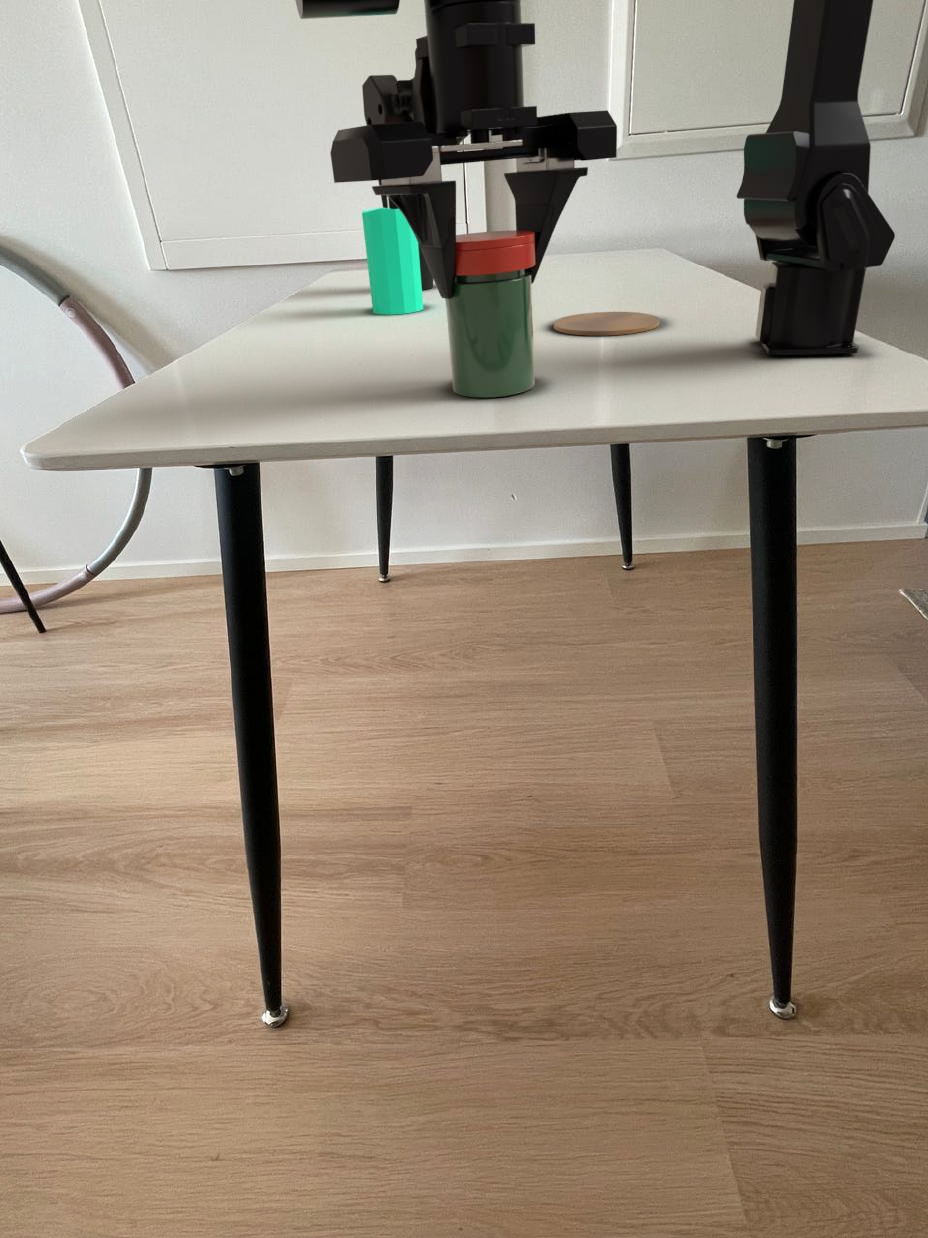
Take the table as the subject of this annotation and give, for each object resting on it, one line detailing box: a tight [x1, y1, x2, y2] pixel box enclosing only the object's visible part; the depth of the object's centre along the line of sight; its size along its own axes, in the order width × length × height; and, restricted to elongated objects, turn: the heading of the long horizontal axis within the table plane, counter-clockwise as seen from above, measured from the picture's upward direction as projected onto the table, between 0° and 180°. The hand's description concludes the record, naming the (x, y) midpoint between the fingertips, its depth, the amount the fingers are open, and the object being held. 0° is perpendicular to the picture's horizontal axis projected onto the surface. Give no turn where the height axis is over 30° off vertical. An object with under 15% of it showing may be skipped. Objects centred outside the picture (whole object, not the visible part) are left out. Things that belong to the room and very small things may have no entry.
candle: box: [361, 197, 424, 316], centre depth 89 cm, size 6×6×12 cm
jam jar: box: [445, 269, 536, 399], centre depth 56 cm, size 6×6×9 cm
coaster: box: [553, 311, 660, 337], centre depth 76 cm, size 10×10×1 cm
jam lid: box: [456, 229, 535, 275], centre depth 54 cm, size 7×7×2 cm
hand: (488, 290), depth 55 cm, fingers closed on jam lid, 6 cm apart
